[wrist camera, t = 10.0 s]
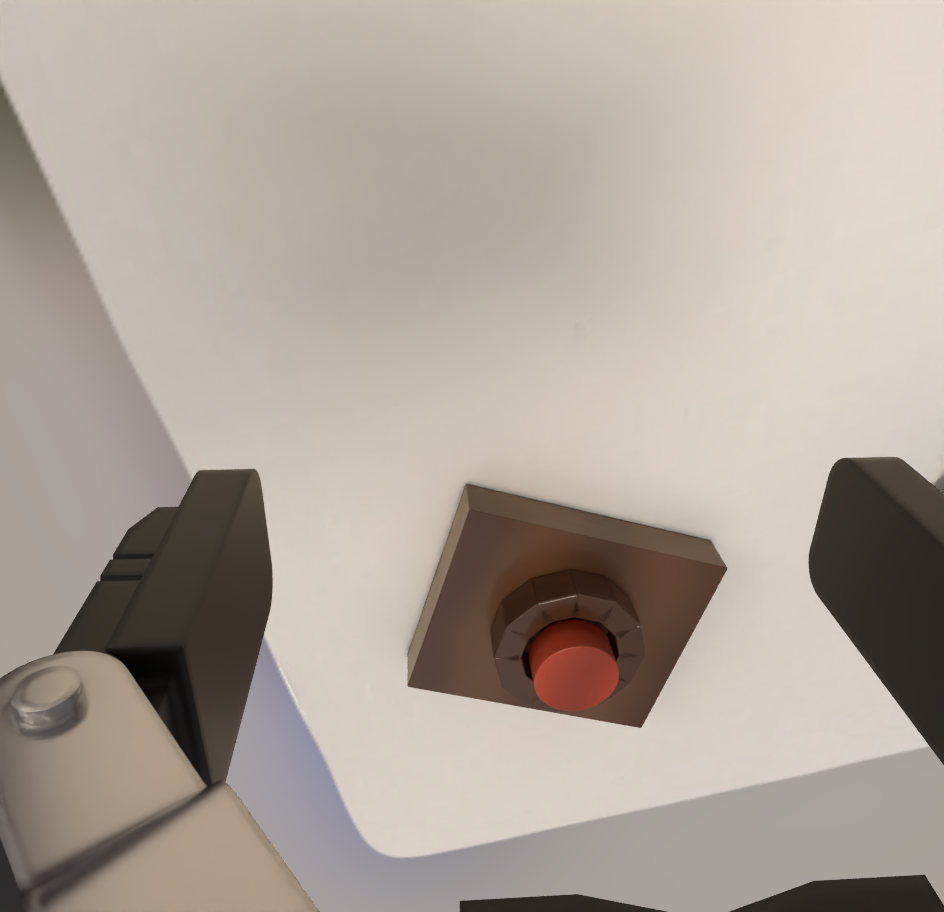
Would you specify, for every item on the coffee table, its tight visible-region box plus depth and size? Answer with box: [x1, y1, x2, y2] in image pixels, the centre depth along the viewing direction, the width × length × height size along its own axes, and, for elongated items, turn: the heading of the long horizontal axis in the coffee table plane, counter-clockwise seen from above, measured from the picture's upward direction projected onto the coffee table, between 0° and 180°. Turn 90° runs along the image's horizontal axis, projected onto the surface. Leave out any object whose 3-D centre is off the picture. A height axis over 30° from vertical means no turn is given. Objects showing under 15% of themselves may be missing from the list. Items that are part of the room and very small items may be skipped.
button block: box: [408, 485, 727, 728], centre depth 35 cm, size 12×10×4 cm
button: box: [529, 619, 619, 711], centre depth 33 cm, size 4×4×2 cm
